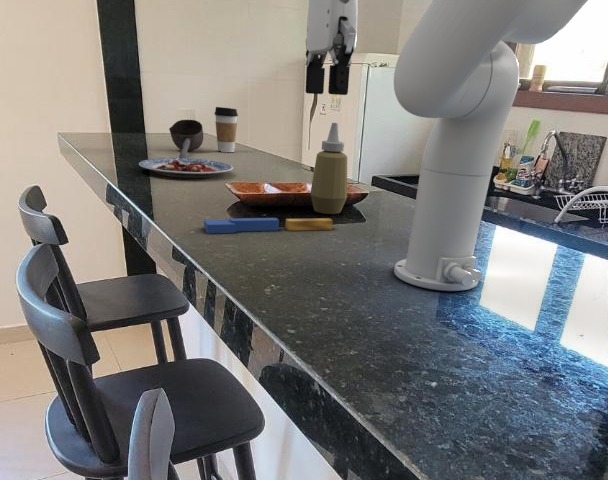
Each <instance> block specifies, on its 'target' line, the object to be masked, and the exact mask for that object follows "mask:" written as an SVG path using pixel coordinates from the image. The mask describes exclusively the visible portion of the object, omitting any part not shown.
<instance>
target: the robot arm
mask: <svg viewBox="0 0 608 480" xmlns="http://www.w3.org/2000/svg"><path fill="white" fill-rule="evenodd" d="M588 1H589V0H432V1H431V2H430V4H429V6H428V7H427V9H426V10H425V12H424V13H423V15H422V17H420V19H419V21H418V22H417V24H416V25H415V27H414V29H413V30H412V32H411V33H410V34H409V36H408V38H407V40H406V41H405V43H404V45H403V47H402V48H401V50H400V53H399V56H398V58H397V61H396V64H395V68H394V73H393V90H394V94H395V98H396V100H397V101H398V103H399V105H400V106H401V108H403V109H404V110H405V111H406V112H407V113H408V114H411V115H413V116H416V117H420V118H426V119H436V120H435V122H434V124H433V127H432V129H431V131H430V133H429V135H428V137H427V140H426V143H425V145H424V146H425V147H424V150H423V154H422V160H421V165H420V166H421V167H420V171H419V178H418V182H417V183H418V184H417V188H416V196H415V203H414V209H413V214H412V215H413V216H412V221H411V227H410V235H409V239H408V246H407V252H406V258H405V259H402V260H399V261H397V262H396V263H395V264H394V267H393V268H394V269H393V273H394V275H395V276H396V277H397V278H398V279H399V280H401V281H403V282H405V283H407V284H410V285H412V286H416V287H419V288H421V289H422V288H423V289H428V290H433V291H441V292H443V291H444V292H461V291H468V290H472V289H474V288H475V287H477V286H478V284H479V282H480V281H481V280H482V278H483V273H482V272H481V271H479V270H478V269H475V265H476V261H477V257H476V256H474V253H475V248H476V245H477V240H478V236H479V230H480V226H481V222H482V216H483V212H484V208H485V203H486V199H487V195H488V190H489V187H490V181H491V177H492V173H493V169H494V164H495V159H496V155H497V151H498V147H499V143H500V140H501V136H502V135H503V130H504V128H505V125H506V122H507V119H508V117H509V114H510V112H511V110H512V106H513V104H514V102H515V99H516V95H517V92H518V88H519V85H520V84H519V83H520V66H519V62H518V59H517V56H516V55H515V53H514V51H513V49H512V48H511V47H510V46H509V45H508V43H507V44H506V43H505V42H509V43H515V44H519V45H520V44H521V45H527V46H529V45H539V44H543V43H545V42H547V41H549V40H551V39H553V38H555V36H557V35H558V34H559V33H560V32H561V31H562V30H563V29H564V28H565V27H566V26H567V25H568V24H569V23H570V21H571V20H572V19H573V18H574V17H575V16H576V15H577V13H578V12H579V11H581V9H582V8H583V7H584V6H585V4H586V3H587V2H588ZM358 3H359V2H358V0H308V9H307V11H308V12H307V21H306V38H305V48H306V51H305V57H306V61H305V68H306V72H305V89H304V90H305V93H306V94H310V95H311V94H313V95H324V89H325V76H326V75H325V74H326V73H325V72H326V68H325V67H324V65H325V62H326V58H327V55H328V54H329V55H330V59H331V63H332V64H330V65H329V73H328V74H329V75H328V88H327V92H328V94H329V95H335V96H337V95H339V96H347V95H348V93H349V83H350V82H349V81H350V68H351V66H352V56H353V53H354V52H355V49H356V48H357V47H356V46H357V35H358V8H359V7H358Z"/></svg>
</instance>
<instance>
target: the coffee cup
mask: <svg viewBox="0 0 608 480" xmlns="http://www.w3.org/2000/svg"><path fill="white" fill-rule="evenodd" d="M214 115H215V132H216V142H217V152H218V151H221V152H220V153H223V152H234V153H235V146H236V138H237V137H236V135H237V125H238V122H237V118H238V116H239V115H238V110H237V109H236V108H230V107H222V106H215V111H214ZM222 149H223V150H222ZM233 149H234V150H233Z"/></svg>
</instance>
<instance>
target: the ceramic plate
mask: <svg viewBox="0 0 608 480" xmlns="http://www.w3.org/2000/svg"><path fill="white" fill-rule="evenodd" d="M138 165H139V167H141V168H143V169H146V170H150V171H153V172H155V173H157V174H159V175H161V176H166V177H173V178H184V179H199V178H200V179H202V178H211V177H214V176H217V175H218V174H222V173H228V172H230V171H233V169H234V166H233V165H231V164H230V163H226V162H222V161H216V160H211V159H202V158H179V157H164V158H151V159H144V160H141V161H140V162H139V163H138Z"/></svg>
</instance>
